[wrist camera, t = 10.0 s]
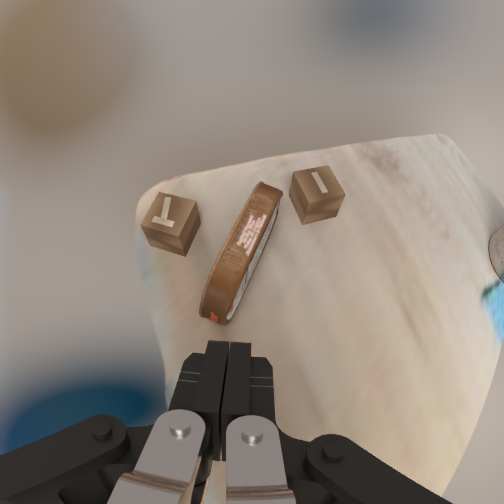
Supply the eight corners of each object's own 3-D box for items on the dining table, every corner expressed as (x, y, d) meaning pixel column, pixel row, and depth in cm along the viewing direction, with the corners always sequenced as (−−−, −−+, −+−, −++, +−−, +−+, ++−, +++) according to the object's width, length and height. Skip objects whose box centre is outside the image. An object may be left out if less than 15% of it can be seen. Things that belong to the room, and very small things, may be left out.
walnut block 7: (200, 224, 38) (195, 200, 33) (185, 256, 36) (178, 235, 31) (166, 214, 38) (158, 191, 34) (150, 245, 36) (140, 224, 32)
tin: (257, 211, 39) (260, 162, 31) (282, 219, 38) (291, 172, 31) (201, 325, 32) (188, 297, 25) (230, 337, 32) (225, 313, 24)
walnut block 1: (321, 188, 40) (328, 164, 36) (335, 216, 39) (345, 193, 34) (288, 195, 40) (293, 171, 36) (302, 225, 38) (309, 201, 34)
